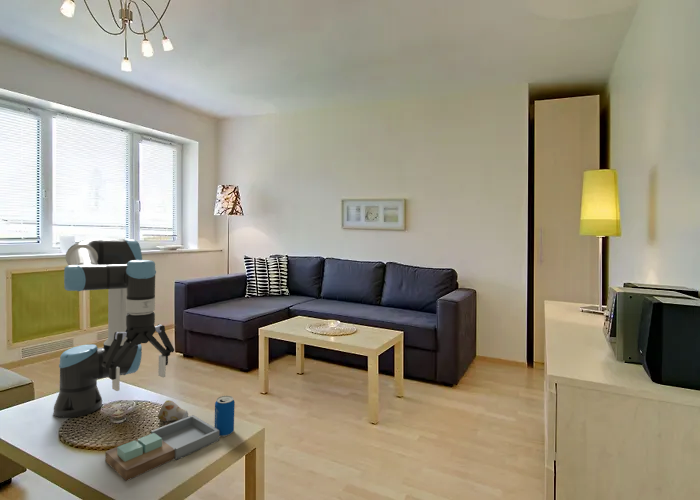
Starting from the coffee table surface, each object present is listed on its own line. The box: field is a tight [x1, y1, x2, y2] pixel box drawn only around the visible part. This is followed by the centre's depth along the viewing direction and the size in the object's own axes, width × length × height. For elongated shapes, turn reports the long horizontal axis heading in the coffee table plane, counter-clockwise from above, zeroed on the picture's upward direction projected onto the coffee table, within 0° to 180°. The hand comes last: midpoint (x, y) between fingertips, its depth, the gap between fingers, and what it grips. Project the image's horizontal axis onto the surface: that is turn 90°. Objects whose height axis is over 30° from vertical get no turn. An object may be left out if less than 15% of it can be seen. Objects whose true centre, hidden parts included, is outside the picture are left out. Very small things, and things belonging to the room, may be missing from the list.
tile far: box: [137, 433, 162, 453], centre depth 122 cm, size 5×5×2 cm
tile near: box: [116, 439, 143, 461], centre depth 117 cm, size 5×5×2 cm
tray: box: [150, 414, 220, 461], centre depth 131 cm, size 16×15×4 cm
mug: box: [157, 400, 189, 422], centre depth 145 cm, size 8×10×10 cm
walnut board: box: [104, 438, 175, 482], centre depth 120 cm, size 14×14×3 cm
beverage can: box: [213, 395, 236, 437], centre depth 137 cm, size 6×6×12 cm
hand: (139, 382), depth 119 cm, fingers open, 13 cm apart
